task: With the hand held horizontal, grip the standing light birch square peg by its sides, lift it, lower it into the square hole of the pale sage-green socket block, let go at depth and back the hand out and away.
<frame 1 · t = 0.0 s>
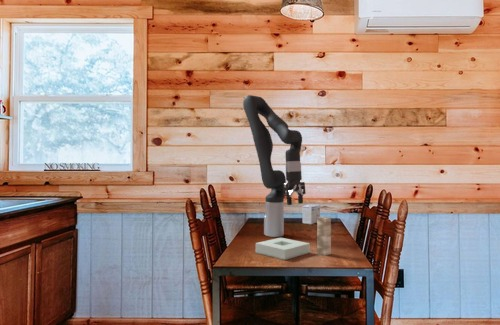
hand: (295, 204, 182), 17 cm above the table, fingers open, 8 cm apart
peg: (323, 253, 155), on the table
light bulb box: (311, 222, 230), on the table
socket block: (282, 252, 156), on the table
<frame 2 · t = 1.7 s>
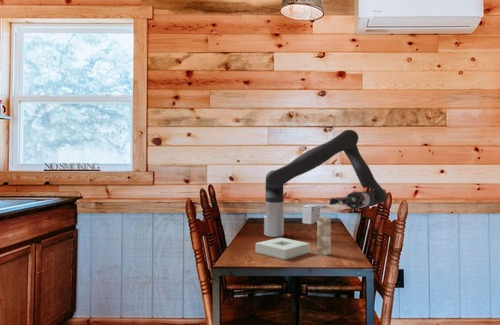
hand: (338, 203, 162), 20 cm above the table, fingers open, 8 cm apart
nothing on the table moved.
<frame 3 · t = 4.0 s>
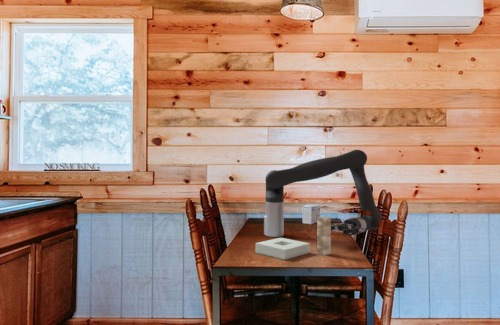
hand: (335, 230, 160), 8 cm above the table, fingers open, 8 cm apart
nothing on the table moved.
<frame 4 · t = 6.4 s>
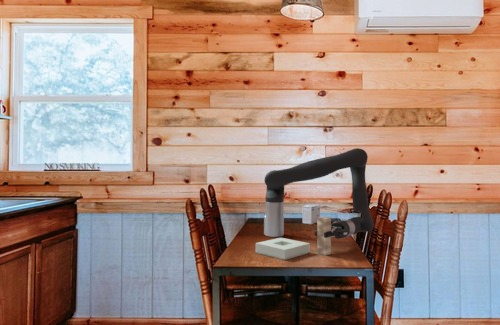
hand: (320, 234, 152), 9 cm above the table, fingers closed on peg, 4 cm apart
peg: (323, 253, 155), on the table, touching gripper
everything else where it was.
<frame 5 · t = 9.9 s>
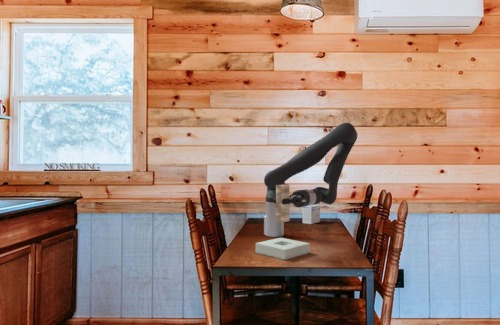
hand: (278, 201, 154), 22 cm above the table, fingers closed on peg, 4 cm apart
peg: (282, 221, 156), point 13 cm above the table, touching gripper
everything else where it was.
when the fingers open (10 cm above the table, at t = 13.3 s): peg stays where it is, resting on socket block.
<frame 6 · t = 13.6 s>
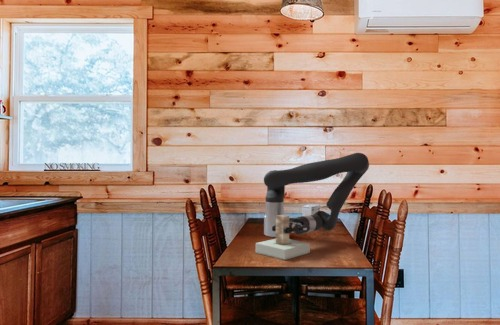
hand: (278, 229, 154), 10 cm above the table, fingers open, 6 cm apart
peg: (282, 251, 156), resting on socket block
everything else where it was.
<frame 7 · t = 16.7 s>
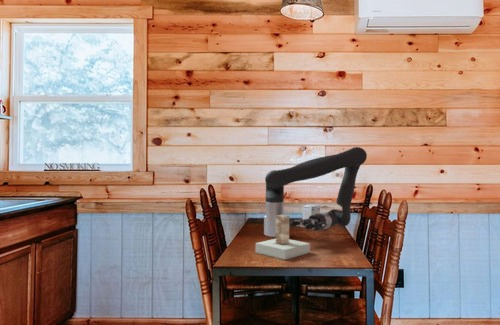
hand: (298, 225, 163), 10 cm above the table, fingers open, 8 cm apart
nothing on the table moved.
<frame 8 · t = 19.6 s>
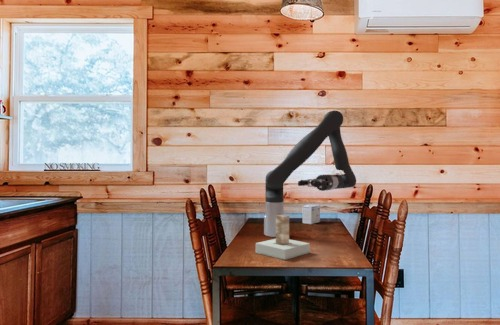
hand: (306, 183, 167), 28 cm above the table, fingers open, 8 cm apart
nothing on the table moved.
at the end: peg 0.1 cm off-centre on the socket block, point 0.5 cm above the socket block's base; peg tilted 0°; the gripper is holding nothing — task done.
